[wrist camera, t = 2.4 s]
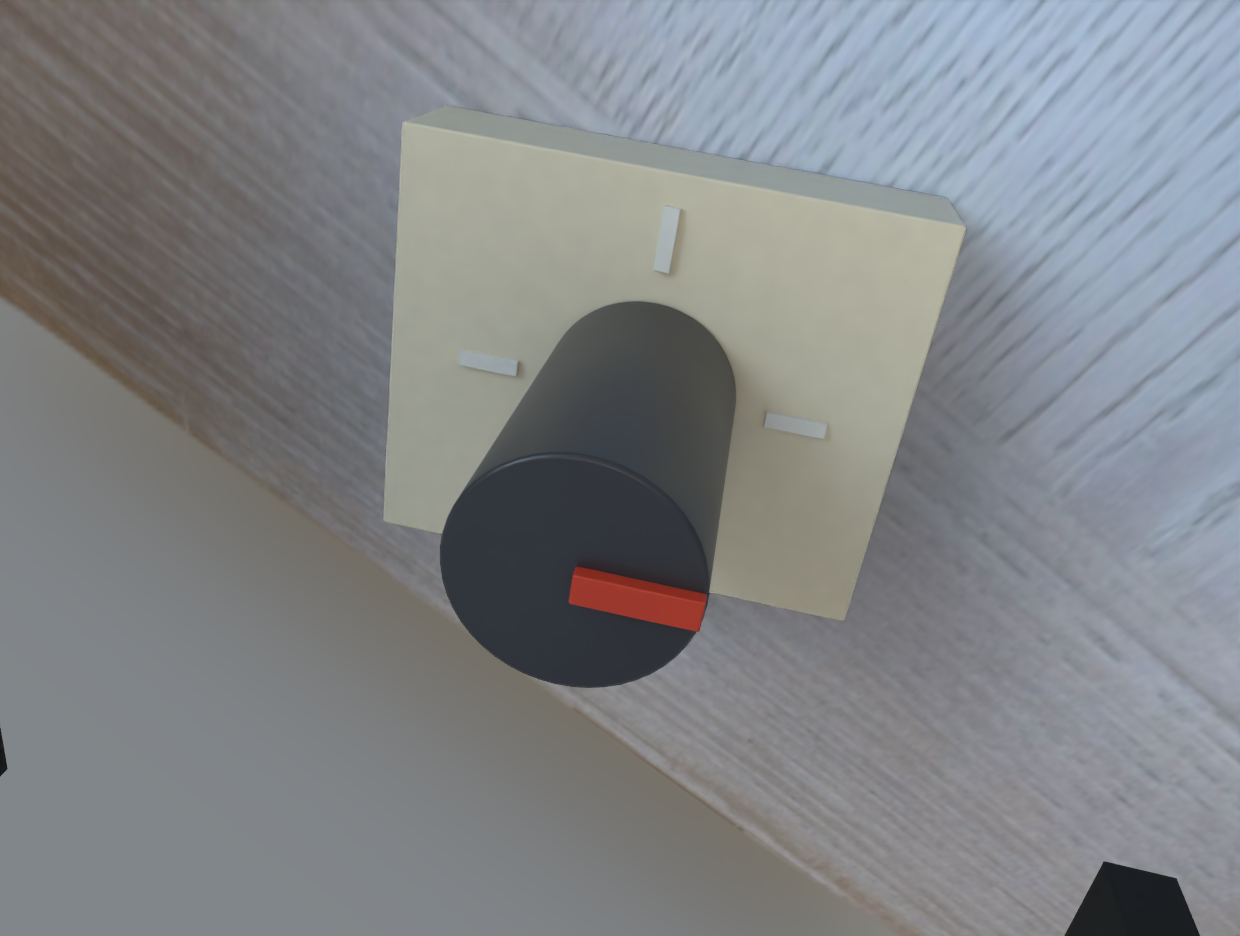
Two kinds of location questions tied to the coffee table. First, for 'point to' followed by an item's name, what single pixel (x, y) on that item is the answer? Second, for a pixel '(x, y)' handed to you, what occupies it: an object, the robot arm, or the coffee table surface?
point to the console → (686, 281)
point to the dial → (599, 503)
